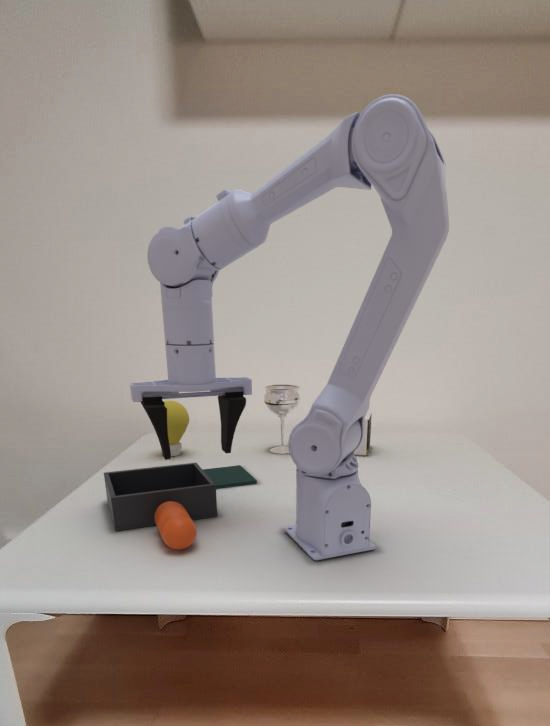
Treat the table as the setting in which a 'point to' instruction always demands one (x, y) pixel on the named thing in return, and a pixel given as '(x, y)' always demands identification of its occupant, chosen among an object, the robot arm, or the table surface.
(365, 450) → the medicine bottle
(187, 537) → the orange lobed capsule
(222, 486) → the pad
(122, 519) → the basin
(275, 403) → the wineglass
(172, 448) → the light bulb
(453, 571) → the table surface
